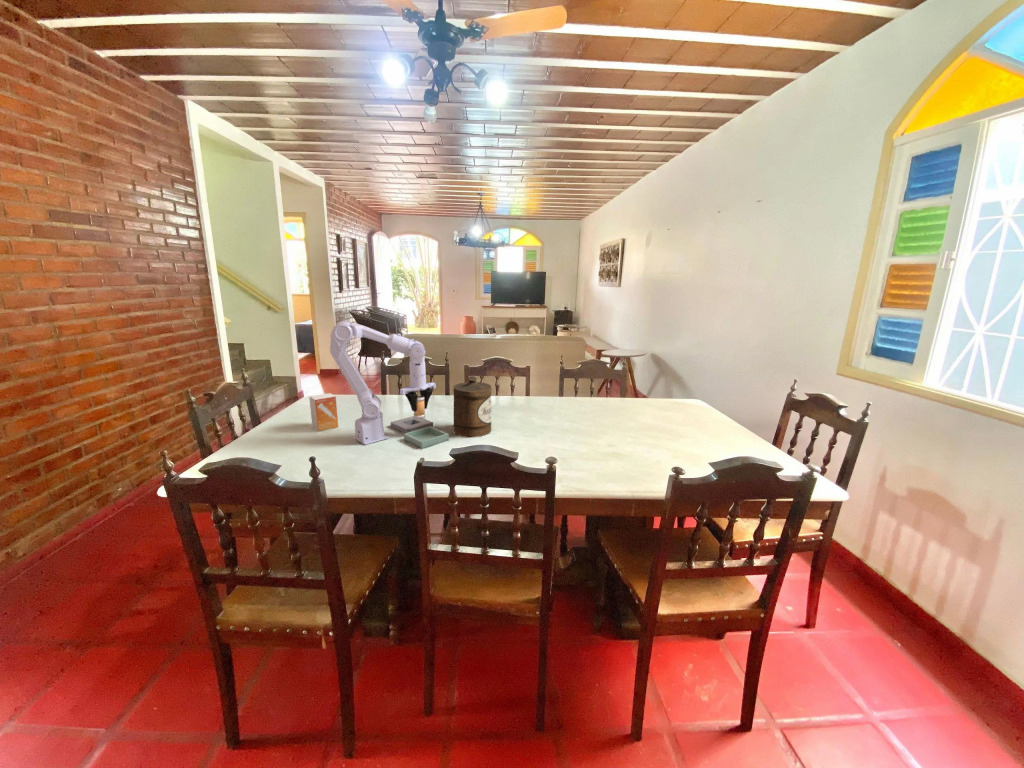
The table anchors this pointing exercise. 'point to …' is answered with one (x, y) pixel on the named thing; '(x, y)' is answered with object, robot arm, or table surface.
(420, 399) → the fuse
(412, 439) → the tray
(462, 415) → the wooden container
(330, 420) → the small box
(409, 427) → the grey square frame
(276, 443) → the table surface
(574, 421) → the table surface
